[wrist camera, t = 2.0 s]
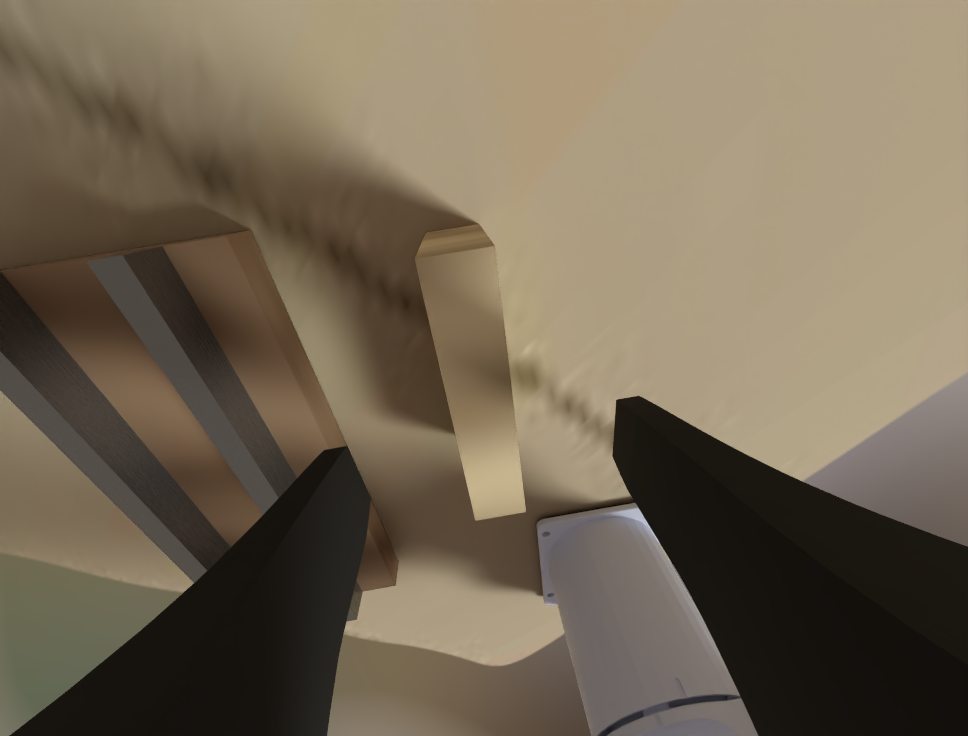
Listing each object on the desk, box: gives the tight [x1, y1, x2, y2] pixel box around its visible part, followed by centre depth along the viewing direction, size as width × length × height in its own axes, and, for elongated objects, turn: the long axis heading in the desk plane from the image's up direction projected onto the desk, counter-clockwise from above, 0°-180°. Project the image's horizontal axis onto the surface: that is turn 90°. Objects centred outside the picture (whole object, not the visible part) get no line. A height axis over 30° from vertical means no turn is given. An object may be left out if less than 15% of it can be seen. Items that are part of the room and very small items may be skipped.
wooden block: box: [414, 224, 526, 521], centre depth 13 cm, size 10×2×5 cm, turn 8°
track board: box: [0, 230, 399, 621], centre depth 15 cm, size 20×10×3 cm, turn 8°
